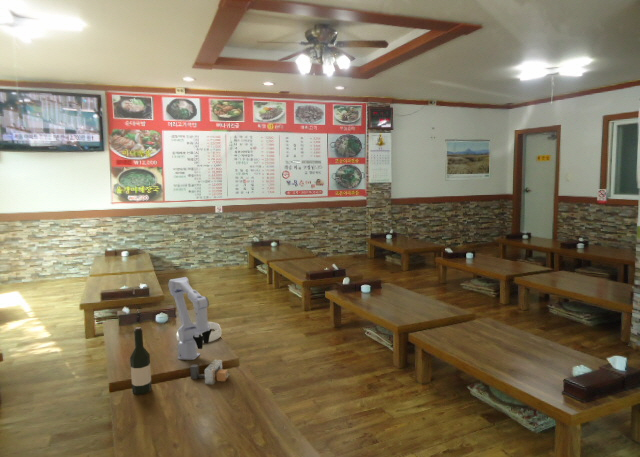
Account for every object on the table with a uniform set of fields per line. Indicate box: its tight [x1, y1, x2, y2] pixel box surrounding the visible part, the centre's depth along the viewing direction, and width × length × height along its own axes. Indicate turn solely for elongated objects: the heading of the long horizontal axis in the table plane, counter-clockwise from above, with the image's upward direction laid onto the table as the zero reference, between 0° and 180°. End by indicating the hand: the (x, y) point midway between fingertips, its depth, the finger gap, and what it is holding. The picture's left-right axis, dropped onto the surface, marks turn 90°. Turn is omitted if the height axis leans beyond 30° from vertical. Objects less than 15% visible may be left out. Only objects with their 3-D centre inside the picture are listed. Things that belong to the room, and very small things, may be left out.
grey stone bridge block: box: [204, 359, 223, 385], centre depth 219 cm, size 4×12×7 cm, turn 171°
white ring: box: [176, 321, 223, 344], centre depth 279 cm, size 27×27×6 cm
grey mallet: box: [189, 364, 230, 382], centre depth 220 cm, size 19×4×6 cm, turn 81°
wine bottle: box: [129, 326, 153, 396], centre depth 207 cm, size 8×8×30 cm
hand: (203, 345), depth 235 cm, fingers open, 7 cm apart
